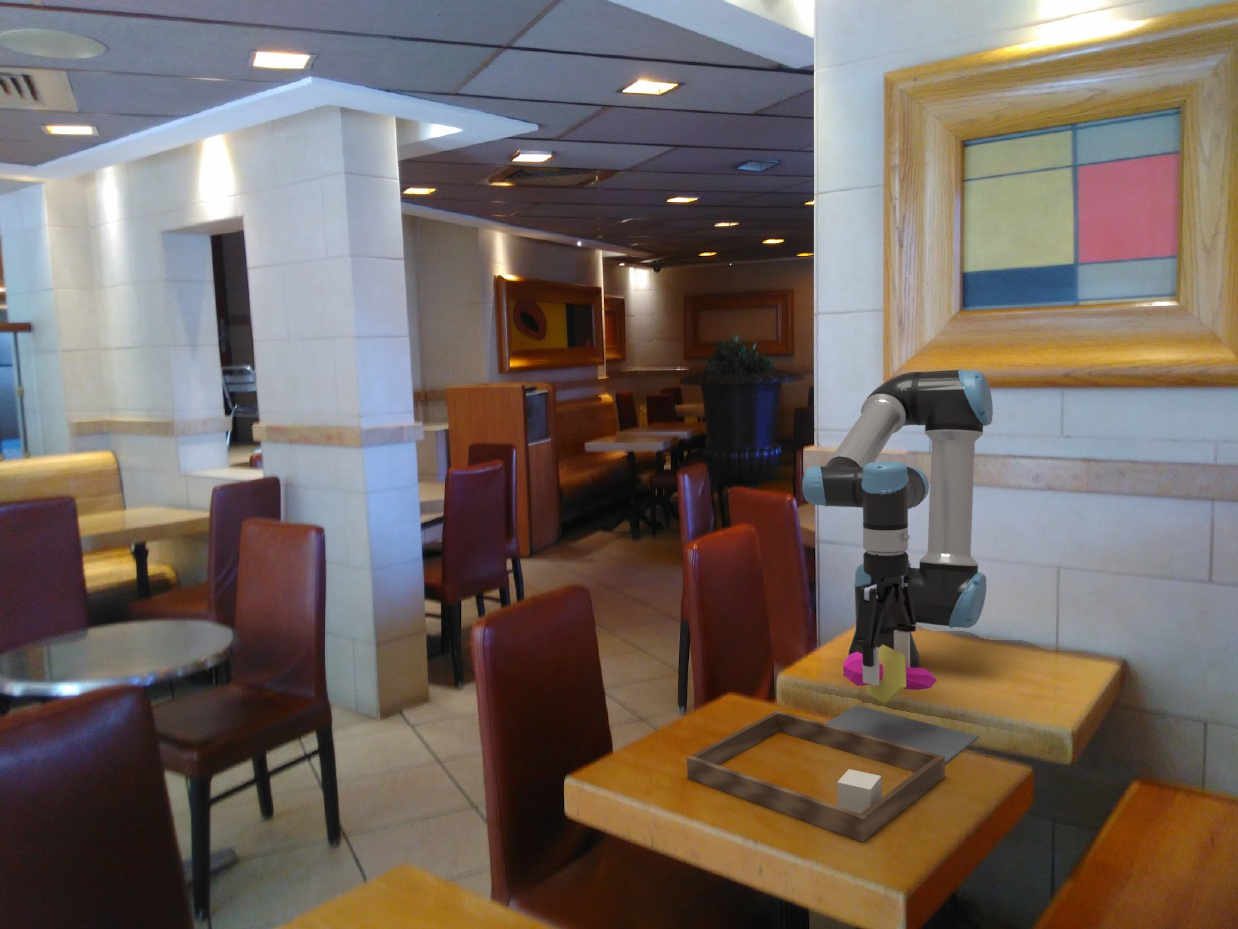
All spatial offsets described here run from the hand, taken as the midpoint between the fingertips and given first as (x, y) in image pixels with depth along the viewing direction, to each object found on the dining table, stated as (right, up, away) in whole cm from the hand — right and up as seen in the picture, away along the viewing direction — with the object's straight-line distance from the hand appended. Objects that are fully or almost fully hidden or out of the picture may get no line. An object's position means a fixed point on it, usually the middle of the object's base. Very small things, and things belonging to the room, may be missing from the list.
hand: (887, 675), depth 159 cm
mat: (+1, -12, +2) cm, 12 cm away
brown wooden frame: (-15, -14, -12) cm, 24 cm away
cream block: (-11, -15, -23) cm, 30 cm away
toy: (+1, -5, +2) cm, 5 cm away
